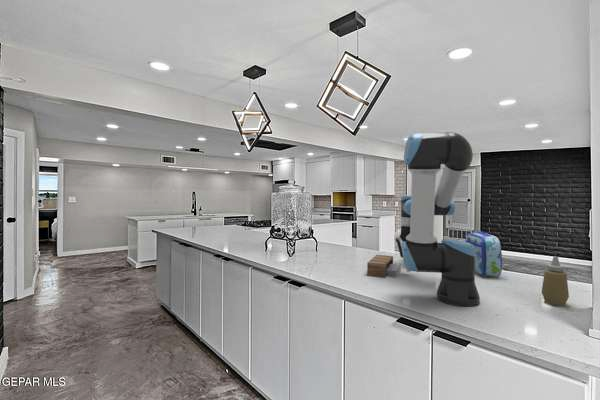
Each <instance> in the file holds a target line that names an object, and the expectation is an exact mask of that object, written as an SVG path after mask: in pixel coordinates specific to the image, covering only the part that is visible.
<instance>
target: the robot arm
mask: <svg viewBox="0 0 600 400" xmlns="http://www.w3.org/2000/svg"><path fill="white" fill-rule="evenodd" d="M473 157H474V155H473V148H472V145H471V143H470V141H468V139H466V137H464V136H463V135H461V134H460V133H457V132H453V131H451V132H450V131H449V132H421V133H420V132H419V133H412V134H410V135H409V136H408V137H407V140H406V143H405V146H404V153H403V163H404V166H405V165H406V166H407V171H409V172H410V174H411V185H410V186H411V187H410V188H411V189H410V194H402V195H401V196H400V197H401V198H400V225H401V226H400V229H401V234H399V235H400V237H397V238H396V239H395V240H396V242H397V243H396V244H398V247H397V249H398V248H399V249H398V252H399V255H400V258H403V259H402V260H403V264H404V267H405V269H406V273H410V272H416V273H441V278H440V281H439V283H438V287H437V290H436V299H437V300H439V301H441V302H442V303H445V304H448V305H453V306H457V307H458V306H459V307H475V306H478V305H480V300H481V299H480V294H479V291H478V288H477V285H476V282H475V279H476V277H475V276H476V272H475V257H476V256H475V248H474V246H473V245H472V244H470V243H467V242H466V241H462V240H458V239H454V238H453V239H452V238H451V239H450V238H443V239H442V240H441V242H438V238H437V237H436V236H435V234H434V235H433V233H434V228H435V226H434V224H435V216H443V217H445V216H446V217H447V216H452V215H454V213H455V209H456V204H455V201H454V198H455V195H456V192H457V190H458V187H459V185H460V183H461V181H462V179H463V176H464V173H465V171H467V170H468V169H469V168H470V167H471V164H472V162H473ZM441 165H443V166H444V167H443V170H442V173H441V176H440V179H439V183H438V185H437V188H436V177H437V175H436V174H438V172H439V171H440V170H441ZM400 239H401V240H402V241H403V242H402V247H401V243H400V242H401V240H400ZM395 240H394V241H395Z"/></svg>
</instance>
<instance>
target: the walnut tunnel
mask: <svg viewBox="0 0 600 400" xmlns="http://www.w3.org/2000/svg"><path fill="white" fill-rule="evenodd" d="M366 264H367V268H366V269H367V272H366V273H367V277H368V276H369V277H374V278H375V277H377V278H385V279H386V278H387V276H386V266H387V264H394V256H393V255H387V254H376V255H374V256H373V257H372V258H371V259H370V260H369V261H367V263H366Z"/></svg>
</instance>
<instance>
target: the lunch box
mask: <svg viewBox="0 0 600 400" xmlns="http://www.w3.org/2000/svg"><path fill="white" fill-rule="evenodd" d="M465 242H467V243H470V244H472V245H473V246H474V248H475V256H476V257H475V273H476V274H478V275H480V276H482V277H500V276H501V274H502V270H503V267H502V266H503V265H502V263H503V261H502V258H503V257H502V255H503V253H502V247H501V246H502V245H501V241H500V239H499V237H498V236H495V235H492V234H489V233H487V232H483V231H481V230H480V231H476V232H469V233H467V235H466V239H465Z"/></svg>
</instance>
